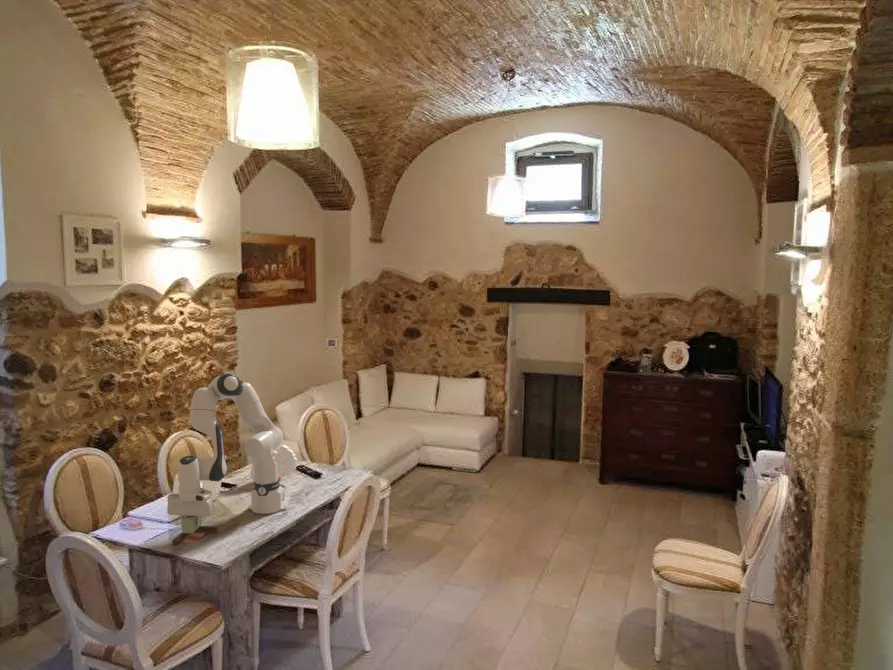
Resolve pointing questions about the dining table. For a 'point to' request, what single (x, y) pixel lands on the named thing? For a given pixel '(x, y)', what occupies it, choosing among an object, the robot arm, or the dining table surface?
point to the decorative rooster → (282, 461)
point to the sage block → (189, 524)
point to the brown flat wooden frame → (194, 535)
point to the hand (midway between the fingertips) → (191, 524)
